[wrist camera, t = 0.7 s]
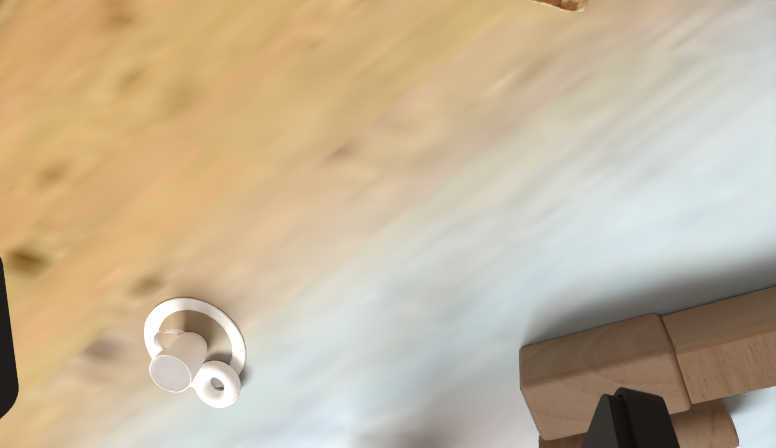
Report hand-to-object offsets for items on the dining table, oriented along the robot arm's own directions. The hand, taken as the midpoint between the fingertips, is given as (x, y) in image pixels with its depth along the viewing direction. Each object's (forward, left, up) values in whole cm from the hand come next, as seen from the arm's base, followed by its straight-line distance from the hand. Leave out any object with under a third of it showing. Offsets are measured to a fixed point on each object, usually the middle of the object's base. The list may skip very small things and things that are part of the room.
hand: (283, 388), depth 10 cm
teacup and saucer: (+30, -4, -30) cm, 43 cm away
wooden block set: (+11, +26, -30) cm, 41 cm away
